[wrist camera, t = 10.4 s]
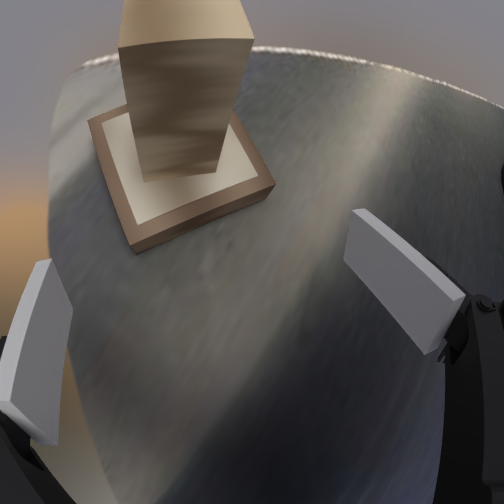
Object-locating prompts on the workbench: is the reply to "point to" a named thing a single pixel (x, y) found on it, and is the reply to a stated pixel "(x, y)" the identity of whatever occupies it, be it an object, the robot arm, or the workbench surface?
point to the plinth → (175, 183)
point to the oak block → (182, 80)
